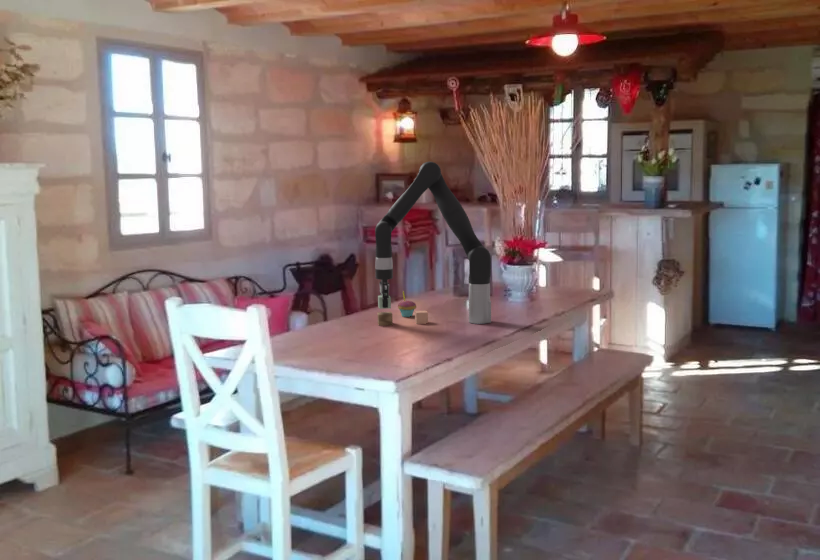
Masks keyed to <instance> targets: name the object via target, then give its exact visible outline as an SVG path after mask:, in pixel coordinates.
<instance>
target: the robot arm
mask: <svg viewBox="0 0 820 560" xmlns="http://www.w3.org/2000/svg"><path fill="white" fill-rule="evenodd" d="M418 169H419V170H418V174H417V175H416V177H415V178H414V180H413V182H412V183H411V184H410V185H409V187H408V188H407V189H406V190H405V192H403V193H402V194H401V195H400V197H398V199H397V200H396V201H395V202H394V204H392V205H391V207H390V208H389V210H388V211H387V213H386V214H385V215H384V216H383V217H382V218H381V219H380V220H379V221H378V223H377V224H376V226H375V229H374V235H375V263H374V264H375V265H374V266H375V268H374V269H375V271H374V272H375V273H374V274H375V279H377V280H380V282H379V284H378V285H379V286H378V287H379V293H380V294H379V295H382V299H383V308H387V307H388V298H389V293H390V282H388V280H392V279H394V267H393V264H394V263H393V262H394V261H393V248H392V232H393V231H394V230H395V228H396V227H397V225H398V224H399V223H400V222H401V221H402V220H403V219H404V218H405V217H406V216H407V215H408V213H409V212H410V211H411V210H412V208H413V207H414V205H415V204H416V203H417V202H418V200H419V199H420V197H421V196H422V195H423V194H424V193H425V192H426V191H427V190H429V191H430V192H431V194H432V196H433V198H434V200H435V202H436V205H437V207H438V210H439V212H440V214H441V215H442V217H443V219H444V220H445V222H446V224H447V225H448V227H449V229H450V230H451V231H452V233H453V234H454V236H455V237H456V238H457V239H458V241H459V243H460V244H461V246H462V249H463V251H464V252H465V256H466V257H467V260H468V262H469V263H468V264H469V267H468V269H469V271H468V272H469V273H468V323H470V324H475V325H477V324H478V325H479V324H480V325H481V324H482V325H483V324H491V323H492V301H491V275H492V270H491V269H492V257H491V253H490V251H489V250H488V248H486V247H485V246H484V245H483V244H482V242H481V241H480V239H479V238H478V237H477V235H476V233H475V231H474V228H473V226H472V223H471V221H470V218H469V217H468V215H467V212H466V211H465V210H464V207H463V206H462V203H460V201H459V200H458V198H457V197H456V195H454V193H453V192H452V191H451V189H450V188H449V186H448V185H447V183H446V181H445V178H444V176H443V173H442V171H441V167H440V165H439V164H438V163H437V162H434V161H426V162H423V163H422V165H420V167H419V168H418ZM384 295H385V296H384ZM387 309H388V308H387Z"/></svg>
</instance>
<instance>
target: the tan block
mask: <svg viewBox="0 0 820 560" xmlns="http://www.w3.org/2000/svg"><path fill="white" fill-rule="evenodd" d="M415 322H416V323H415ZM414 323H415V325H427V324H426V323H428V324H429V312H428V311H427V310H414Z"/></svg>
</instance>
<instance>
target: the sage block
mask: <svg viewBox="0 0 820 560" xmlns="http://www.w3.org/2000/svg"><path fill="white" fill-rule="evenodd" d="M384 296H385V295H384ZM377 307H378V309H380V310H384V309H392V297H391V295H389V298H388V307H387V308H383V299H382V295H381V294H379V295H377Z"/></svg>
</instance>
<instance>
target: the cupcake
mask: <svg viewBox="0 0 820 560" xmlns="http://www.w3.org/2000/svg"><path fill="white" fill-rule="evenodd" d="M402 297H403V300H402V301H401V302H399V303H398V304H397V309H398V310H399V311H400V314H401V317H402V318H403V317H404V318H409V317H410V316H411V317H413V315H414V313H415V310H416V309H417V304H416V303H415V302H414V301H412V300H406V297H405V291H402ZM411 317H410V318H411Z"/></svg>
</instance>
